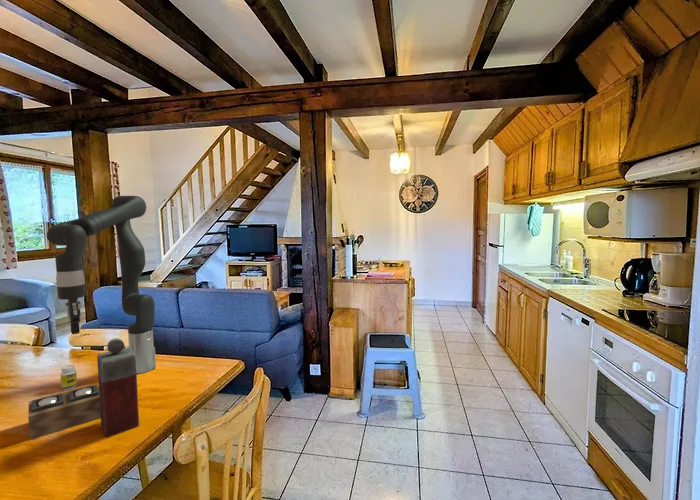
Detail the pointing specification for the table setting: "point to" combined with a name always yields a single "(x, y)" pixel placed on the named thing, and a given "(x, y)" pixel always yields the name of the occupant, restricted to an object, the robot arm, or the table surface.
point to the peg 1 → (47, 401)
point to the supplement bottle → (68, 377)
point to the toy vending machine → (117, 388)
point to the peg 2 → (83, 392)
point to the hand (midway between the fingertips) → (75, 333)
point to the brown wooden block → (63, 412)
